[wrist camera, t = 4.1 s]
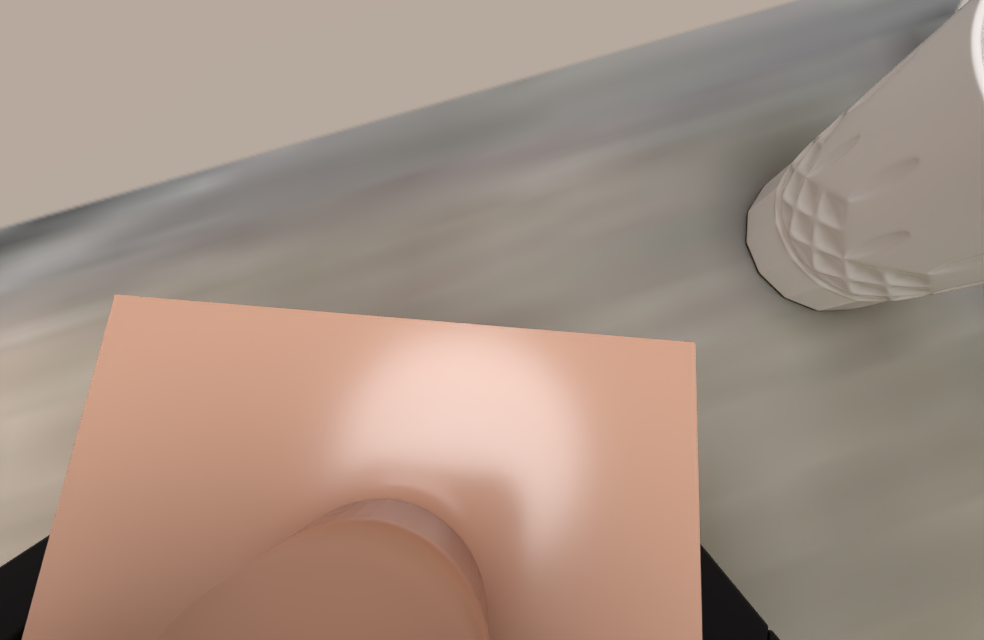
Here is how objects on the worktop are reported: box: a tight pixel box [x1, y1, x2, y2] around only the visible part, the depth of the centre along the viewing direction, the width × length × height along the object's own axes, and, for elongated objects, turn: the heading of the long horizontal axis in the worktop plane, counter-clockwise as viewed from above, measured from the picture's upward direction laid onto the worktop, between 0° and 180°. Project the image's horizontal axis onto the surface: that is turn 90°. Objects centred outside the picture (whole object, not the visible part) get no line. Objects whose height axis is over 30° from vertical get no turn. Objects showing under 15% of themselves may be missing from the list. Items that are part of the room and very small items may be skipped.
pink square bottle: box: [22, 295, 702, 640], centre depth 9 cm, size 6×7×13 cm
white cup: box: [747, 0, 984, 311], centre depth 15 cm, size 8×8×10 cm
